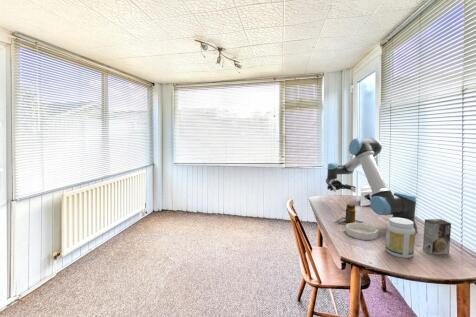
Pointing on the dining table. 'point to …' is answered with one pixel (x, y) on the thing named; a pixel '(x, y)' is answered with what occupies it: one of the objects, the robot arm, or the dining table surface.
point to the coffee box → (436, 236)
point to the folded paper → (365, 195)
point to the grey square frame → (344, 223)
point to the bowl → (361, 231)
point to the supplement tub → (400, 237)
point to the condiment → (350, 214)
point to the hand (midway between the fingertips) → (345, 190)
